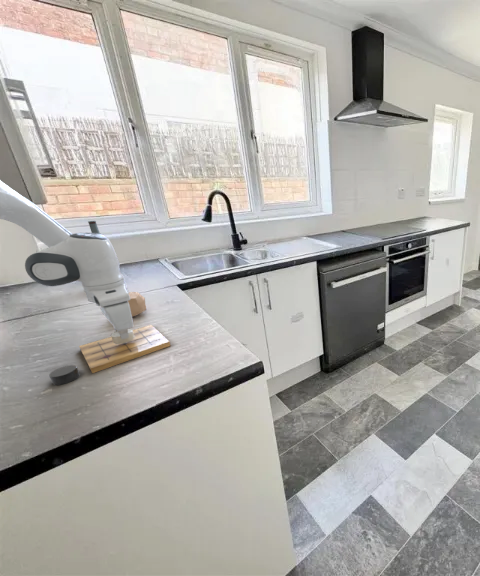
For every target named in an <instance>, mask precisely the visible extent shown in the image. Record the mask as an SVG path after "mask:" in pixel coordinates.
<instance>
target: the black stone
mask: <svg viewBox="0 0 480 576" xmlns="http://www.w3.org/2000/svg"><path fill="white" fill-rule="evenodd" d="M48 375H49V379H50V381H51V383H52V385H54V386H61V385H65V384H68V383H71V382H74V381H75V380H77V379H78V378H79V377H80V375H81V374H80V371H79V369H78V367H77V365H74V364H71V365H65V366H62V367H59V368H57V369H54V370H52V371H51V372H50V373H49V374H48Z"/></svg>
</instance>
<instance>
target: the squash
mask: <svg viewBox="0 0 480 576" xmlns="http://www.w3.org/2000/svg"><path fill="white" fill-rule="evenodd" d="M128 292H129V296H130V300H129V301H128V302H129V306H130V310H131V314H132V317H136V316H137V315H140V314H142V313H143V312H145V311H147V306H146V305H147V304H146V297H144V295H141V293H139V292H138V291H128Z"/></svg>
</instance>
